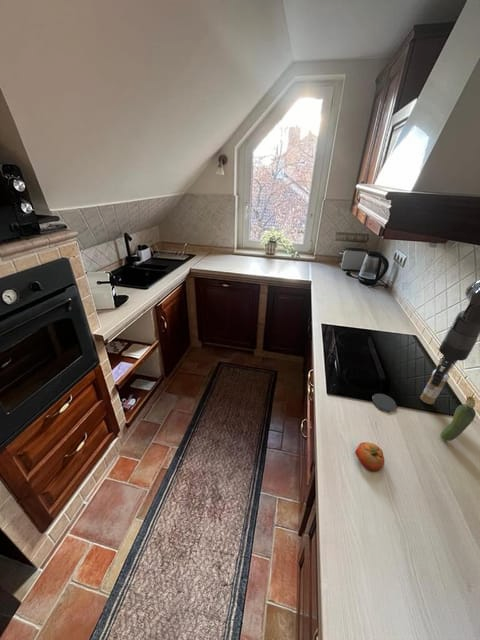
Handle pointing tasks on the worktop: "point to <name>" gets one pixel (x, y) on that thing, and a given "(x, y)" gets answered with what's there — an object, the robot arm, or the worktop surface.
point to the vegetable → (460, 420)
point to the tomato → (370, 456)
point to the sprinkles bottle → (432, 390)
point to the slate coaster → (384, 402)
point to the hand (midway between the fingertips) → (437, 381)
